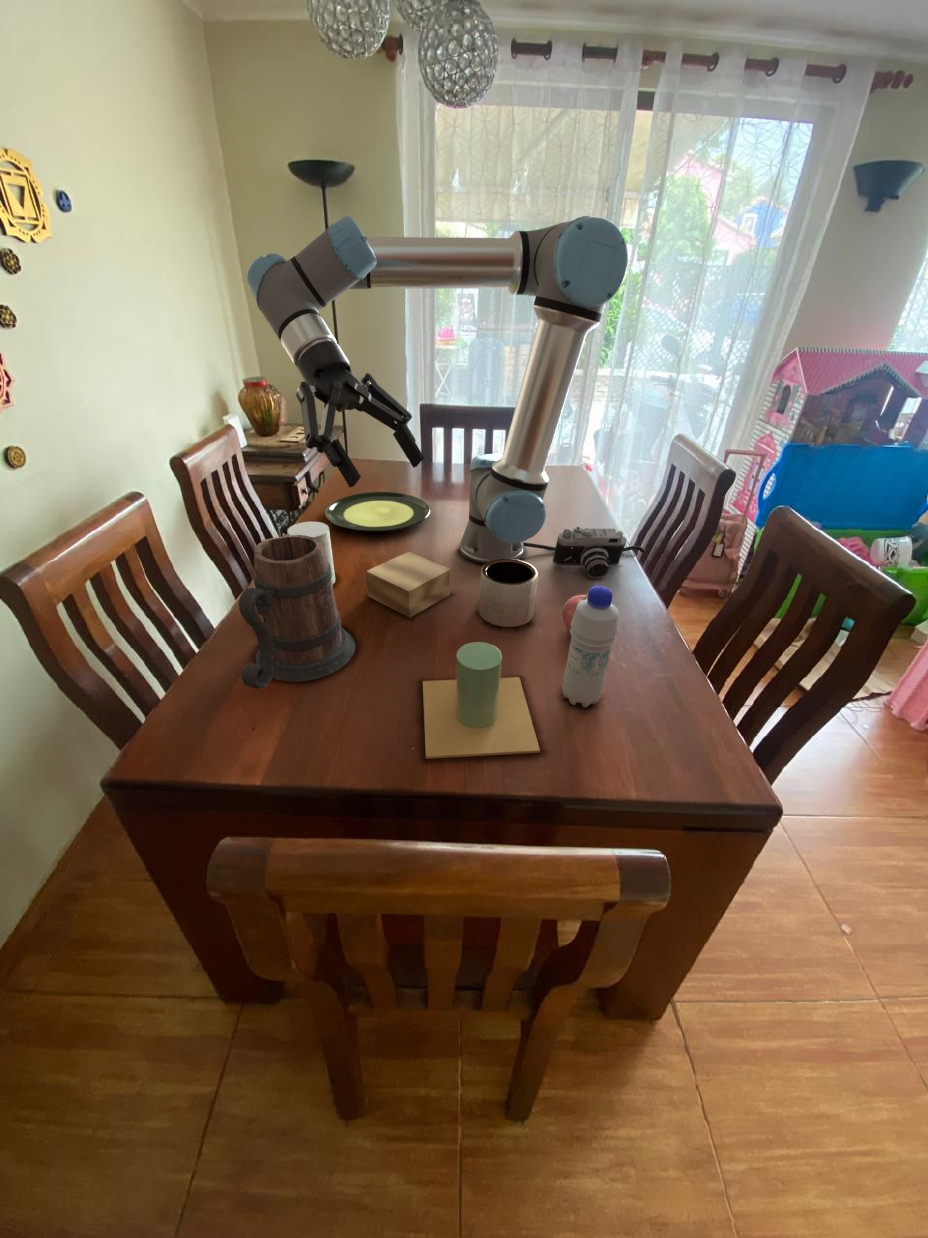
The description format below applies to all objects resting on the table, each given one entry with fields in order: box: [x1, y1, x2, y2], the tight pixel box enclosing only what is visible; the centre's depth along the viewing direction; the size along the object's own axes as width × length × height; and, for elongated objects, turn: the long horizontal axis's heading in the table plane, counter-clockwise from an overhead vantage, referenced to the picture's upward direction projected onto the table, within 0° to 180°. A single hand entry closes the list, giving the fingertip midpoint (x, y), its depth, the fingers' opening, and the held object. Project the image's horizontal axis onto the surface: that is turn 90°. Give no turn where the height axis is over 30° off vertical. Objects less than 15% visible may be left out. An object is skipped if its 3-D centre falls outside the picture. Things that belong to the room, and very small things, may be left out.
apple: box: [561, 594, 588, 632], centre depth 96 cm, size 7×7×8 cm
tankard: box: [238, 535, 356, 690], centre depth 83 cm, size 24×17×20 cm
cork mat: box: [422, 676, 541, 760], centre depth 79 cm, size 16×16×1 cm
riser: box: [365, 551, 451, 618], centre depth 106 cm, size 12×12×6 cm
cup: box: [286, 521, 336, 585], centre depth 109 cm, size 8×8×12 cm
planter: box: [478, 559, 539, 628], centre depth 100 cm, size 11×11×10 cm
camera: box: [552, 526, 628, 580], centre depth 116 cm, size 16×9×10 cm, turn 93°
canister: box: [455, 641, 503, 728], centre depth 76 cm, size 6×6×11 cm
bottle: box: [561, 585, 620, 708], centre depth 78 cm, size 7×7×20 cm
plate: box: [325, 491, 431, 533], centre depth 141 cm, size 28×28×2 cm
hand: (389, 472), depth 82 cm, fingers open, 13 cm apart
